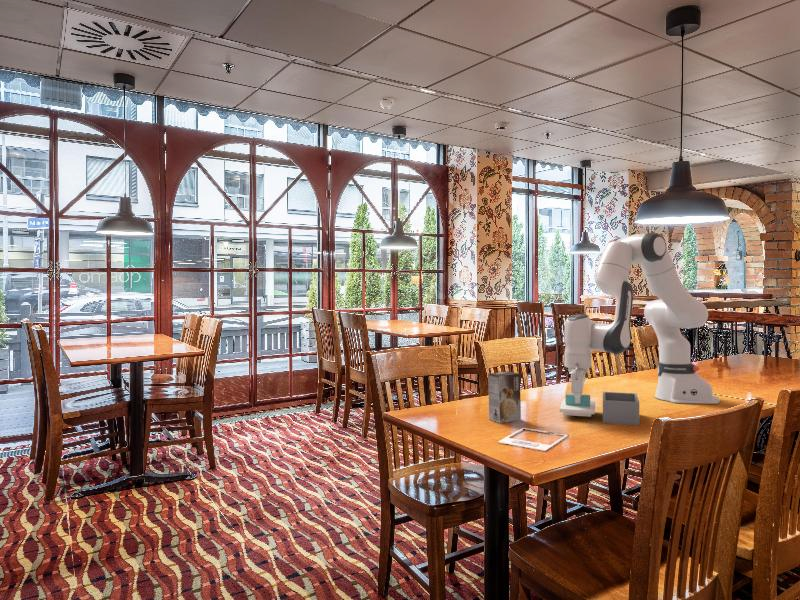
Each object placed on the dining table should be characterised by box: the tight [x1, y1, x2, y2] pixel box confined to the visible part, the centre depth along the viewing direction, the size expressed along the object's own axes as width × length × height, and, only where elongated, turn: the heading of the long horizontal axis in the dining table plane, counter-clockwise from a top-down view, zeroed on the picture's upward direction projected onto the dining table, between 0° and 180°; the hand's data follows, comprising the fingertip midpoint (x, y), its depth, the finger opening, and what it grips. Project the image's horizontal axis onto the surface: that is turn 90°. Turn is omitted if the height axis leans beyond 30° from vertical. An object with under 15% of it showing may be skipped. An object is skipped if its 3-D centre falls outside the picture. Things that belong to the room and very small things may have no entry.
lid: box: [559, 393, 596, 418], centre depth 191 cm, size 11×15×6 cm
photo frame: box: [497, 427, 569, 452], centre depth 166 cm, size 15×1×18 cm
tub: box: [602, 391, 640, 426], centre depth 187 cm, size 11×15×8 cm
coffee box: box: [487, 371, 522, 424], centre depth 190 cm, size 9×6×16 cm
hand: (578, 401), depth 191 cm, fingers closed on lid
